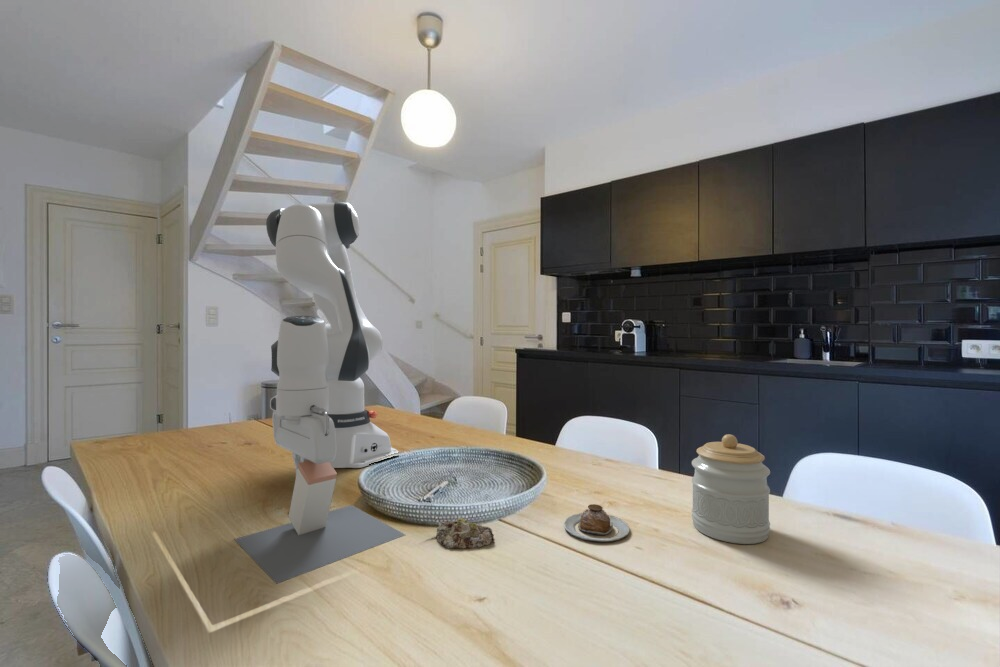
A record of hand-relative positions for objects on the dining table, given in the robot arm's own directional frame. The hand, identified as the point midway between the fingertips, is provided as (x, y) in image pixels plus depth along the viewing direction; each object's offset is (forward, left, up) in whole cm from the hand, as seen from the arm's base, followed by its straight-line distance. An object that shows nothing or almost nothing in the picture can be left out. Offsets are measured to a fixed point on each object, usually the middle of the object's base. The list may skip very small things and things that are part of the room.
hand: (303, 477), depth 86 cm
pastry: (-38, +39, -11) cm, 55 cm away
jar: (-55, +56, -10) cm, 80 cm away
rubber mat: (0, +6, -10) cm, 12 cm away
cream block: (0, +1, -8) cm, 8 cm away
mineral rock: (-18, +24, -10) cm, 32 cm away
